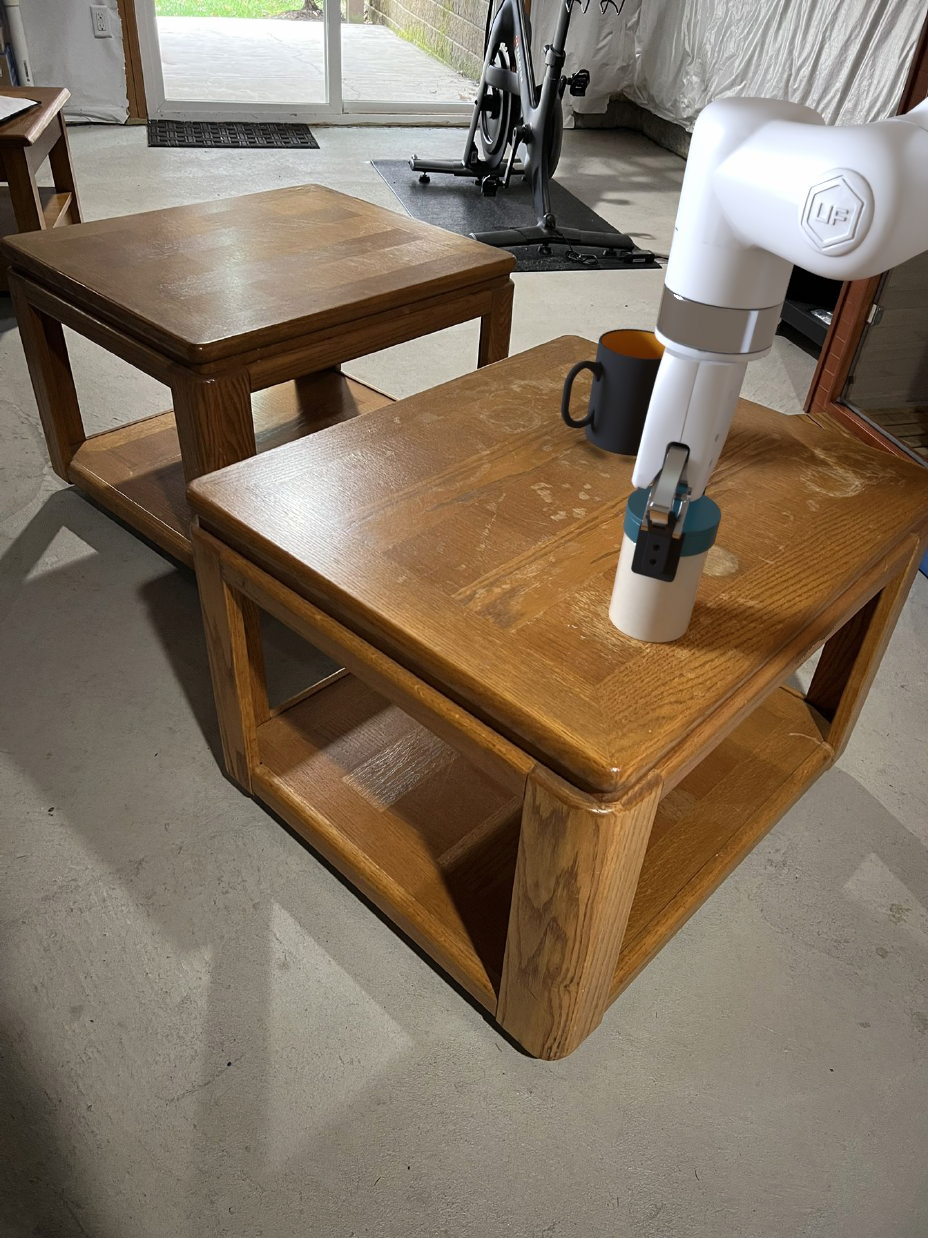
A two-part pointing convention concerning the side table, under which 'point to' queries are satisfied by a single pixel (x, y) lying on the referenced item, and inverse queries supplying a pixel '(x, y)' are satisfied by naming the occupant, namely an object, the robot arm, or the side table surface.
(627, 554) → the jar
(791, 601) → the side table surface
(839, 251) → the robot arm
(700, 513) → the jar lid
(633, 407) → the mug
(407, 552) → the side table surface
